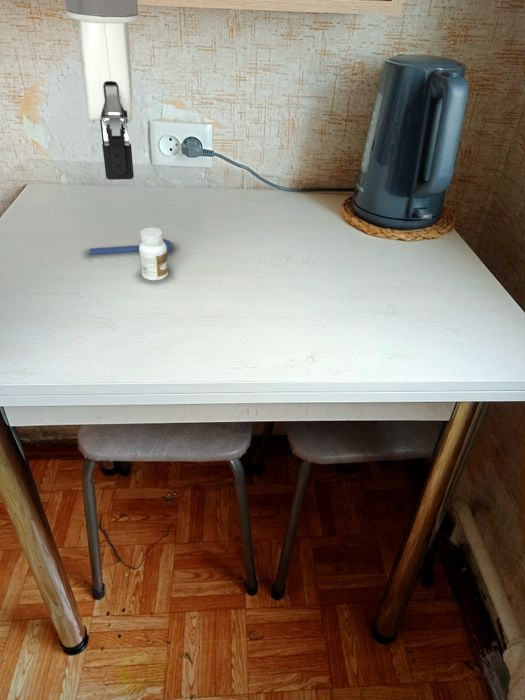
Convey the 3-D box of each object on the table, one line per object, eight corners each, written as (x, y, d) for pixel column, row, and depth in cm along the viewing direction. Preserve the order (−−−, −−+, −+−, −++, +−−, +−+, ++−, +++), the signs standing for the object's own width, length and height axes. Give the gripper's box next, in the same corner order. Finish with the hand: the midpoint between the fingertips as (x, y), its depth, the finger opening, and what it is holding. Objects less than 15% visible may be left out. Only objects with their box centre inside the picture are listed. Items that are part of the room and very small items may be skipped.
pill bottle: (165, 282, 84) (162, 239, 79) (139, 280, 84) (134, 237, 79) (170, 268, 87) (167, 226, 82) (144, 266, 87) (140, 224, 82)
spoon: (89, 259, 88) (89, 254, 87) (89, 247, 91) (89, 242, 90) (172, 253, 91) (172, 248, 90) (169, 242, 94) (169, 237, 94)
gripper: (66, -9, 59) (86, 143, 70) (61, 9, 46) (87, 191, 57) (132, -5, 61) (142, 142, 72) (145, 14, 48) (155, 189, 59)
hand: (118, 164), depth 64 cm, fingers open, 9 cm apart
